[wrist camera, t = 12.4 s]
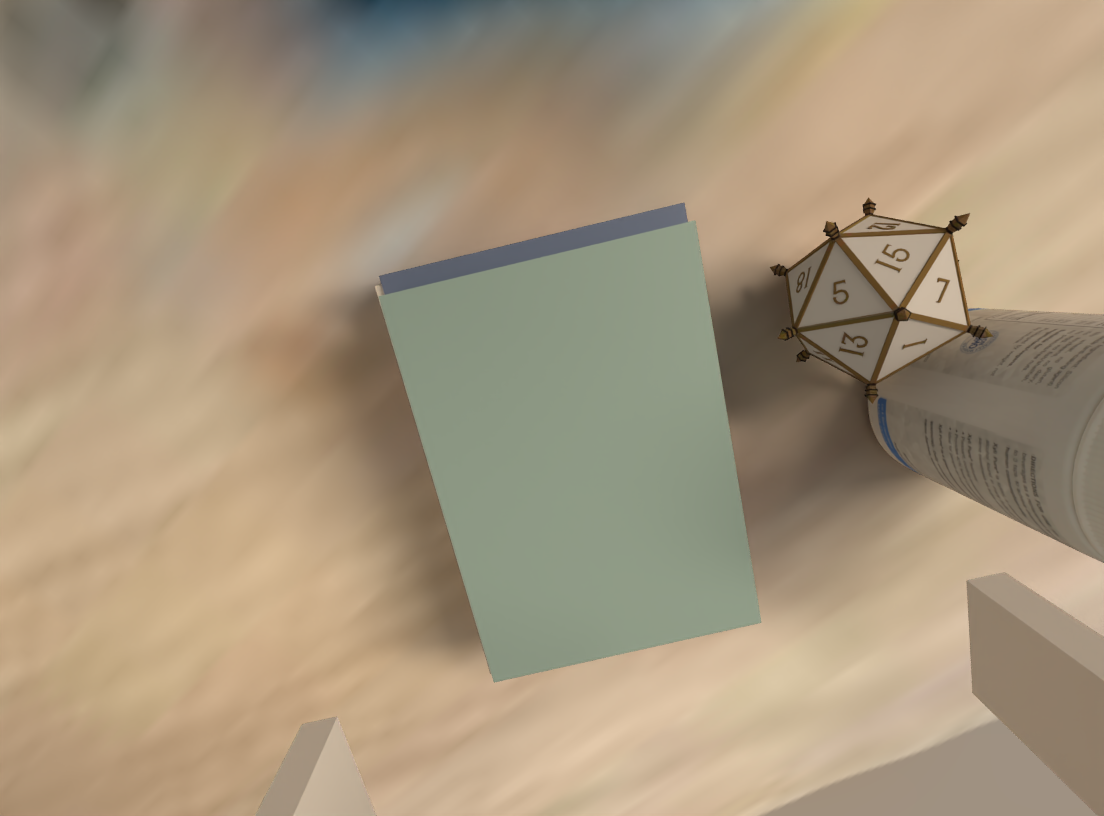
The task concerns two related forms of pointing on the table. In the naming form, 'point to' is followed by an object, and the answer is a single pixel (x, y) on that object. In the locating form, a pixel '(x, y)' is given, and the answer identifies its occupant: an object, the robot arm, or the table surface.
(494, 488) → the book pile
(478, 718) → the table surface
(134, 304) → the table surface
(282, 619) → the table surface
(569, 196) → the table surface
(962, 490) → the supplement tub
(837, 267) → the game die
